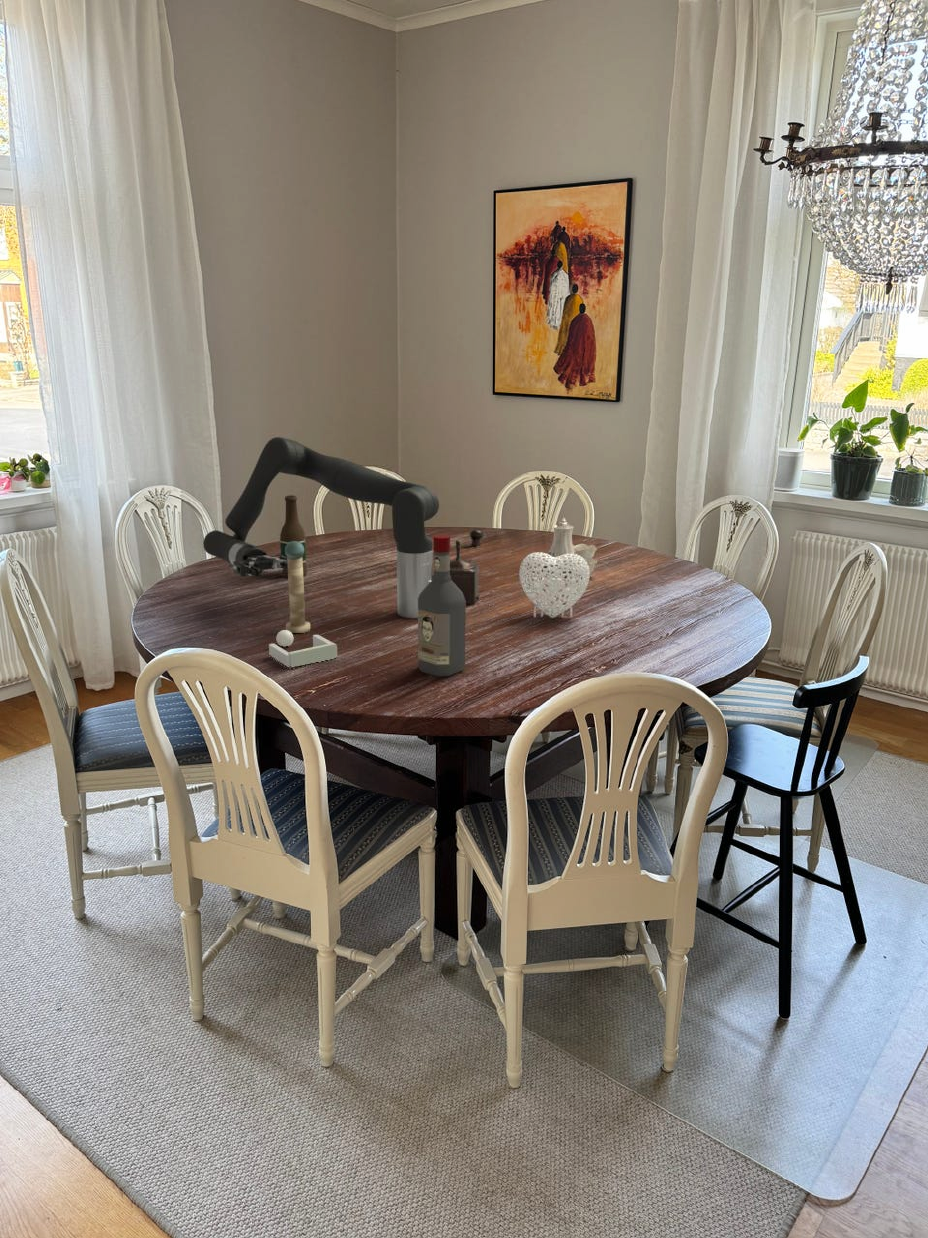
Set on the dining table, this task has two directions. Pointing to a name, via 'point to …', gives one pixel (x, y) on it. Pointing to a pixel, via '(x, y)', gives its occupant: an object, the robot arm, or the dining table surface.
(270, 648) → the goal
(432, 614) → the liquor
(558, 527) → the chinaware
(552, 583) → the decorative heart
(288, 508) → the beer bottle
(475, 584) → the manual coffee grinder
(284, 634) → the ball
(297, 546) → the post
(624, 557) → the dining table surface
